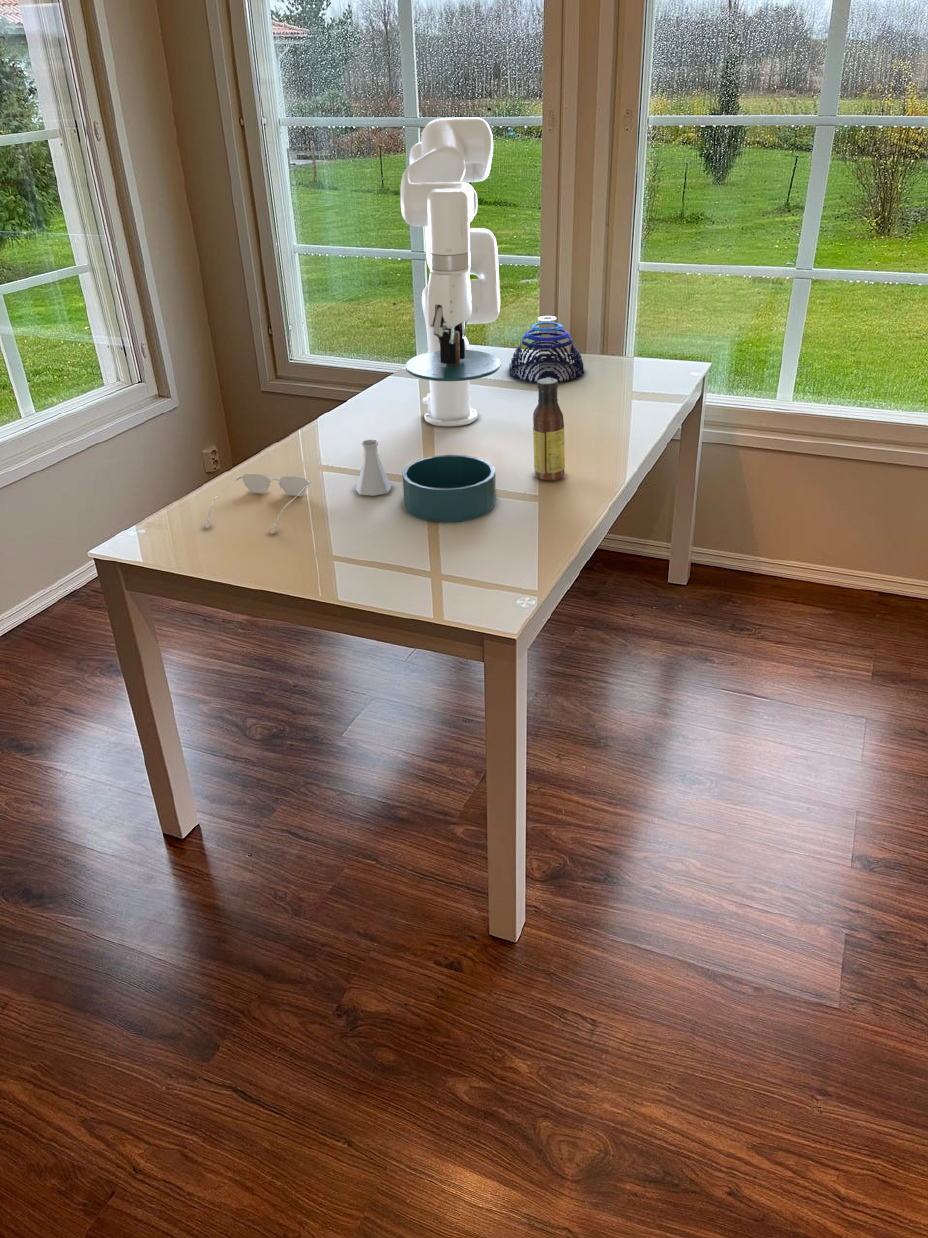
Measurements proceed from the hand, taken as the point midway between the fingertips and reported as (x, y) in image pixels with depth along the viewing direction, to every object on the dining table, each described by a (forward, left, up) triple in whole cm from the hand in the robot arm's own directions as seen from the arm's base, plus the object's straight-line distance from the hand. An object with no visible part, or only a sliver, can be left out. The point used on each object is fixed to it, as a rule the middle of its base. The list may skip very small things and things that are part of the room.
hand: (452, 359), depth 184 cm
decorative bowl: (-34, +66, -24) cm, 78 cm away
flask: (-6, -17, -24) cm, 30 cm away
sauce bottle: (+15, +12, -24) cm, 31 cm away
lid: (0, 0, -1) cm, 1 cm away
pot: (+10, -11, -24) cm, 28 cm away
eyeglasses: (-14, -39, -24) cm, 48 cm away
